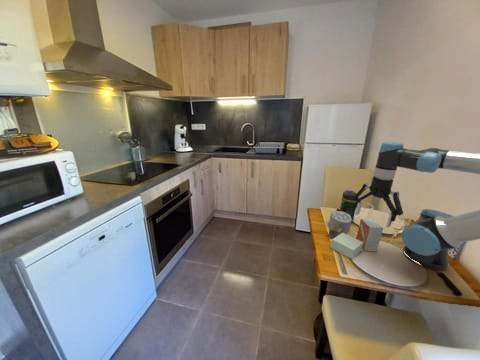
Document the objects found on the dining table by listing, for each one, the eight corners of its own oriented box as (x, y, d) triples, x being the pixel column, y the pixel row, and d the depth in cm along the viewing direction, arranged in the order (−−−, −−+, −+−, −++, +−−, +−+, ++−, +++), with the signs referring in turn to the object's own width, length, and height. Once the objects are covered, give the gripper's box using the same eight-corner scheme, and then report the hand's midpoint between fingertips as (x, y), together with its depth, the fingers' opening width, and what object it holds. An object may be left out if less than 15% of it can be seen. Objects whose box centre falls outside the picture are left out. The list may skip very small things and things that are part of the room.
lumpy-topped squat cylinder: (346, 223, 119) (349, 210, 117) (351, 235, 107) (355, 221, 105) (328, 220, 122) (330, 208, 119) (331, 232, 110) (333, 218, 107)
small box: (355, 240, 102) (360, 218, 98) (367, 241, 102) (373, 219, 98) (363, 251, 95) (369, 227, 91) (377, 251, 94) (384, 227, 90)
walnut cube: (340, 236, 106) (342, 228, 104) (338, 240, 102) (339, 232, 101) (331, 233, 109) (332, 225, 107) (328, 237, 105) (329, 228, 104)
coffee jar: (353, 224, 118) (360, 196, 112) (339, 222, 120) (345, 194, 114) (350, 217, 126) (356, 190, 121) (337, 215, 129) (342, 188, 123)
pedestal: (361, 251, 95) (363, 242, 93) (351, 259, 89) (353, 250, 88) (340, 241, 102) (342, 232, 101) (330, 248, 97) (332, 239, 95)
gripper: (422, 184, 80) (406, 230, 86) (358, 169, 99) (350, 208, 106) (415, 187, 76) (399, 235, 82) (350, 171, 95) (342, 211, 102)
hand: (371, 220), depth 94 cm, fingers open, 13 cm apart
